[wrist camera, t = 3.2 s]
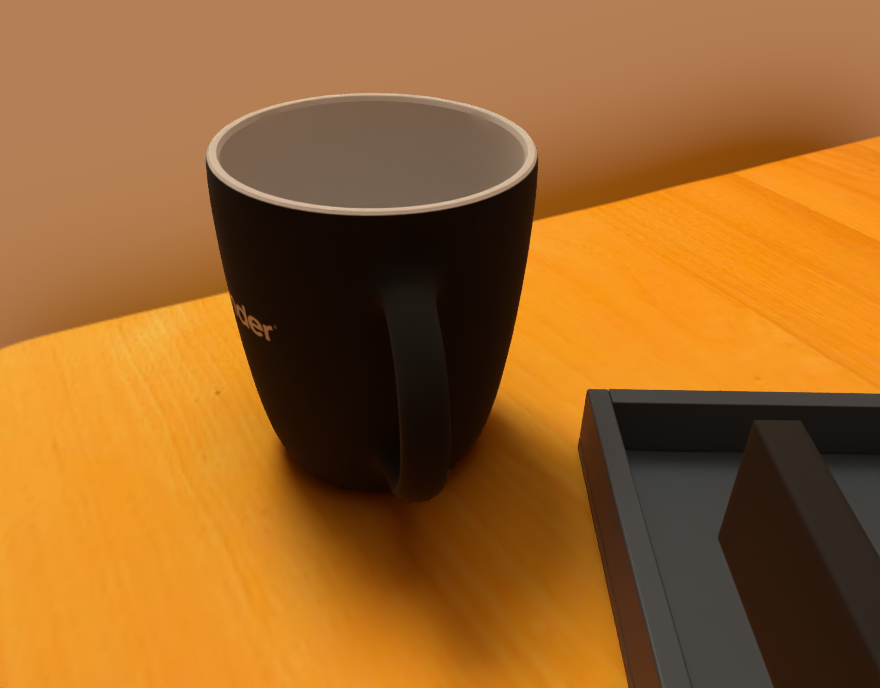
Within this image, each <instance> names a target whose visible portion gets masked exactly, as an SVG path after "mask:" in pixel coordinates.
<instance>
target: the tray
mask: <svg viewBox="0 0 880 688" xmlns="http://www.w3.org/2000/svg"><path fill="white" fill-rule="evenodd" d="M754 420H799V421H801V422H802V424H803V425H804V427H805V429H806V431H807V432H808V434H809V436H810V437H811V439H812V441H813V443H814V444H815V446H816V448H817V450H818V451H819V453H820V455H821V456H822V458H823V460H824V462H825V463H826V465H827V467H828V469H829V470H830V472H831V474H832V475H833V477H834V479H835V481H836V482H837V484H838V486H839V488H840V489H841V491H842V493H843V494H844V496H845V498H846V500H847V501H848V503H849V505H850V507H851V508H852V510H853V512H854V513H855V515H856V517H857V519H858V520H859V522H860V524H861V526H862V527H863V529H864V531H865V532H866V534H867V536H868V538H869V539H870V541H871V543H872V545H873V546H874V548H875V550H876V551H877V553H878V555H879V557H880V394H864V393H805V392H747V391H688V390H629V389H609V391H608V390H606V389H588V390H587V394H586V400H585V407H584V413H583V419H582V426H581V432H580V438H579V444H578V450H579V454H580V459H581V464H582V469H583V473H584V478H585V483H586V487H587V492H588V497H589V501H590V506H591V511H592V516H593V520H594V525H595V530H596V534H597V539H598V544H599V548H600V553H601V558H602V563H603V567H604V572H605V577H606V581H607V586H608V591H609V595H610V600H611V605H612V610H613V614H614V619H615V624H616V628H617V633H618V638H619V642H620V647H621V652H622V657H623V661H624V666H625V671H626V675H627V680H628V685H629V688H774V687H773V684H772V681H771V679H770V676H769V673H768V671H767V668H766V665H765V663H764V660H763V657H762V655H761V652H760V649H759V647H758V644H757V641H756V639H755V636H754V633H753V631H752V628H751V625H750V623H749V620H748V617H747V615H746V612H745V609H744V607H743V604H742V601H741V599H740V596H739V593H738V591H737V588H736V585H735V583H734V580H733V577H732V575H731V572H730V569H729V567H728V564H727V561H726V559H725V556H724V553H723V551H722V548H721V545H720V543H719V540H718V535H719V531H720V528H721V525H722V522H723V518H724V515H725V512H726V509H727V505H728V502H729V499H730V495H731V492H732V489H733V486H734V482H735V479H736V476H737V473H738V469H739V466H740V463H741V460H742V456H743V453H744V450H745V447H746V443H747V440H748V437H749V434H750V430H751V427H752V424H753V421H754Z"/></svg>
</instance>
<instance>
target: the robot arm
mask: <svg viewBox="0 0 880 688" xmlns="http://www.w3.org/2000/svg"><path fill="white" fill-rule="evenodd" d="M718 540H719V543H720V545H721V548H722V551H723V553H724V556H725V559H726V561H727V564H728V567H729V569H730V572H731V575H732V577H733V580H734V583H735V585H736V588H737V591H738V593H739V596H740V599H741V601H742V604H743V607H744V609H745V612H746V615H747V617H748V620H749V623H750V625H751V628H752V631H753V633H754V636H755V639H756V641H757V644H758V647H759V649H760V652H761V655H762V657H763V660H764V663H765V665H766V668H767V671H768V673H769V676H770V679H771V681H772V684H773V687H774V688H880V557H879V555H878V553H877V551H876V550H875V548H874V546H873V545H872V543H871V541H870V539H869V538H868V536H867V534H866V532H865V531H864V529H863V527H862V526H861V524H860V522H859V520H858V519H857V517H856V515H855V513H854V512H853V510H852V508H851V507H850V505H849V503H848V501H847V500H846V498H845V496H844V494H843V493H842V491H841V489H840V488H839V486H838V484H837V482H836V481H835V479H834V477H833V475H832V474H831V472H830V470H829V469H828V467H827V465H826V463H825V462H824V460H823V458H822V456H821V455H820V453H819V451H818V450H817V448H816V446H815V444H814V443H813V441H812V439H811V437H810V436H809V434H808V432H807V431H806V429H805V427H804V425H803V424H802V422H801V421H799V420H754V421H753V424H752V427H751V430H750V434H749V437H748V440H747V443H746V447H745V450H744V453H743V456H742V460H741V463H740V466H739V469H738V473H737V476H736V479H735V482H734V486H733V489H732V492H731V495H730V499H729V502H728V505H727V509H726V512H725V515H724V518H723V522H722V525H721V528H720V531H719V535H718Z"/></svg>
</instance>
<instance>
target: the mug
mask: <svg viewBox="0 0 880 688" xmlns="http://www.w3.org/2000/svg"><path fill="white" fill-rule="evenodd" d="M206 169H207V180H208V188H209V195H210V202H211V207H212V213H213V219H214V224H215V230H216V235H217V240H218V245H219V250H220V254H221V259H222V264H223V268H224V273H225V277H226V281H227V285H228V290H229V294H230V298H231V302H232V306H233V310H234V314H235V318H236V322H237V325H238V329H239V333H240V336H241V340H242V344H243V347H244V350H245V354H246V357H247V360H248V363H249V366H250V369H251V373H252V376H253V379H254V382H255V385H256V388H257V391H258V393H259V396H260V399H261V401H262V404H263V406H264V409H265V411H266V414H267V416H268V418H269V420H270V422H271V424H272V426H273V428H274V430H275V432H276V434H277V436H278V438H279V439H280V441H281V442H282V444H283V445H284V446H285V448H286V449H287V451H288V452H289V453H290V454H291V455H292V456H293V458H294V459H295V460H296V461H297V462H298V463H299V464H300V465H301V466H303V467H304V468H305V469H306V470H307V471H309V472H310V473H312V474H313V475H315V476H316V477H318V478H320V479H322V480H324V481H326V482H329V483H331V484H334V485H337V486H340V487H344V488H348V489H353V490H359V491H369V492H386V491H392V492H393V494H394V495H395V496H396V497H397V498H399V499H400V500H403V501H407V502H423V501H426V500H429V499H431V498H433V497H435V496H436V495H438V494H439V493H440V491H441V490H442V489H443V488H444V486H445V484H446V480H447V477H448V471H449V470H450V469H451V468H453V467H454V466H455V465H456V464H457V463H458V462H459V461H461V460H462V459H463V458H464V456H465V455H466V454H467V453H468V451H469V450H470V449H471V448H472V446H473V445H474V443H475V442H476V440H477V438H478V437H479V435H480V434H481V432H482V430H483V428H484V426H485V423H486V421H487V419H488V416H489V414H490V411H491V409H492V406H493V403H494V400H495V398H496V395H497V391H498V388H499V385H500V381H501V378H502V374H503V370H504V367H505V363H506V359H507V355H508V351H509V347H510V343H511V339H512V335H513V330H514V325H515V321H516V316H517V311H518V306H519V301H520V296H521V291H522V285H523V280H524V274H525V268H526V262H527V256H528V250H529V244H530V237H531V230H532V223H533V215H534V207H535V199H536V188H537V172H538V154H537V148H536V146H535V144H534V142H533V141H532V139H531V138H530V137H529V135H528V134H527V133H526V132H525V131H524V130H523V129H522V128H520V127H519V126H518V125H517V124H515V123H513V122H512V121H510V120H508V119H506V118H504V117H502V116H500V115H498V114H496V113H493V112H491V111H488V110H485V109H482V108H479V107H476V106H472V105H469V104H464V103H461V102H456V101H451V100H446V99H440V98H434V97H426V96H417V95H404V94H385V93H360V94H340V95H329V96H321V97H313V98H307V99H300V100H295V101H290V102H286V103H282V104H278V105H274V106H270V107H267V108H264V109H261V110H258V111H255V112H252V113H250V114H247V115H245V116H243V117H241V118H239V119H237V120H235V121H234V122H232V123H230V124H229V125H227V126H226V127H224V128H223V129H222V130H221V131H220V132H219V133H218V134H216V136H215V137H214V138H213V140H212V141H211V143H210V144H209V146H208V148H207V153H206Z"/></svg>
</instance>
